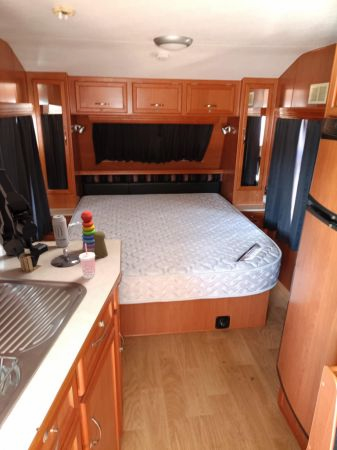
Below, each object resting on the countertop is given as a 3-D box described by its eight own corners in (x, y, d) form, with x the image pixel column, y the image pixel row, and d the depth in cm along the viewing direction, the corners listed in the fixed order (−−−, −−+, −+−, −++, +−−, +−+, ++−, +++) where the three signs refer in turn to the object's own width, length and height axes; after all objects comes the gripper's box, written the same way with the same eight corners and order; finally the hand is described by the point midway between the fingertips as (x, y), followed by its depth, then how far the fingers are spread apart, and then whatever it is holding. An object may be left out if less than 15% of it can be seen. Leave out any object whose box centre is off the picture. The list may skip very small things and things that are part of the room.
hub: (44, 266, 137) (42, 253, 135) (64, 253, 149) (63, 241, 146) (69, 272, 133) (67, 258, 130) (88, 258, 144) (87, 245, 142)
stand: (17, 272, 133) (15, 264, 132) (29, 265, 139) (28, 256, 138) (30, 275, 131) (28, 266, 129) (42, 267, 137) (41, 259, 135)
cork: (109, 252, 149) (107, 230, 145) (105, 258, 143) (103, 235, 139) (96, 252, 149) (94, 229, 145) (92, 258, 144) (89, 235, 140)
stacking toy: (86, 245, 157) (81, 207, 150) (102, 245, 156) (98, 208, 149) (80, 252, 150) (74, 213, 143) (96, 253, 148) (92, 214, 142)
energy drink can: (54, 248, 154) (49, 218, 148) (58, 243, 159) (53, 214, 154) (67, 248, 154) (63, 218, 148) (70, 243, 159) (66, 214, 154)
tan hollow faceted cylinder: (18, 270, 133) (15, 257, 131) (29, 263, 138) (26, 250, 136) (29, 272, 131) (26, 259, 129) (40, 266, 136) (38, 253, 134)
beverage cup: (98, 277, 128) (95, 245, 123) (83, 281, 126) (78, 248, 121) (95, 270, 133) (92, 239, 128) (80, 273, 131) (76, 242, 126)
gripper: (-13, 234, 125) (-4, 270, 131) (24, 241, 118) (31, 279, 124) (10, 224, 135) (17, 258, 140) (46, 230, 128) (52, 265, 133)
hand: (29, 265), depth 134 cm, fingers closed on tan hollow faceted cylinder, 6 cm apart
